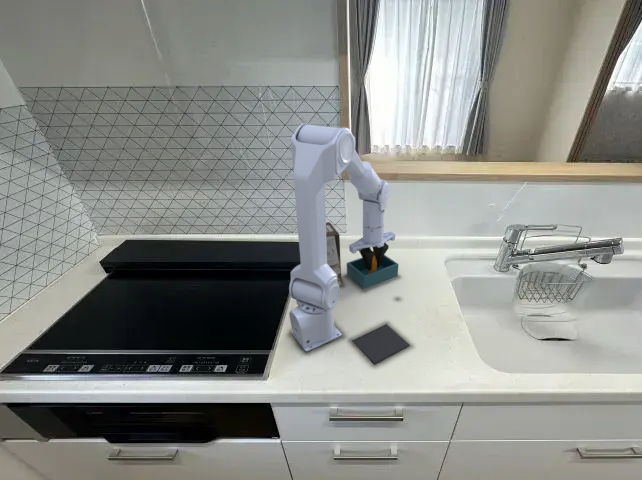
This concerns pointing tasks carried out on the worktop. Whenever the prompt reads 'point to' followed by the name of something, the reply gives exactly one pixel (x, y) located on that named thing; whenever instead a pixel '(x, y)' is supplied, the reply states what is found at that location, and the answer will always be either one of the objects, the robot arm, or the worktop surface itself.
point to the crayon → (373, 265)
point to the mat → (380, 343)
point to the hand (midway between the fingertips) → (372, 267)
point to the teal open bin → (383, 272)
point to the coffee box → (333, 250)
